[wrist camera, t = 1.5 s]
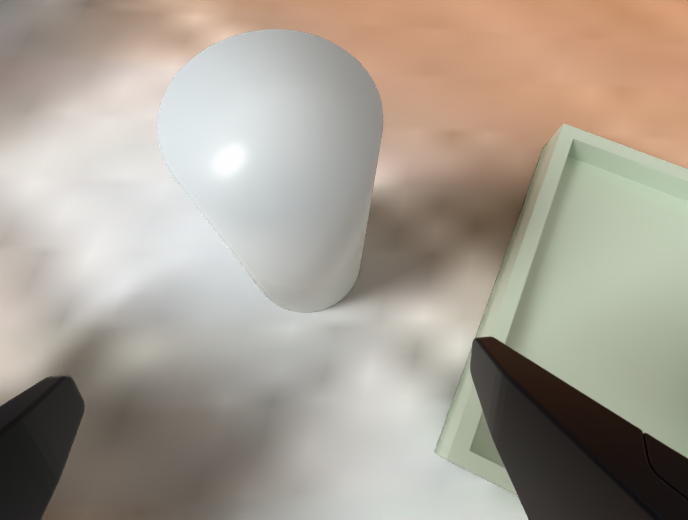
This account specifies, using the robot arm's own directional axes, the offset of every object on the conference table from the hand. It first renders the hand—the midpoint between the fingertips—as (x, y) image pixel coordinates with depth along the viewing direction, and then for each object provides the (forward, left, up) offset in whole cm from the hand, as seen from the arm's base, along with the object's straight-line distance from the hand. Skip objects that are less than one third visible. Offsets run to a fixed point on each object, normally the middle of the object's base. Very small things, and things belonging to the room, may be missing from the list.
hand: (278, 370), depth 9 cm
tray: (-9, -13, -13) cm, 21 cm away
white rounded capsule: (+5, -5, -13) cm, 15 cm away
